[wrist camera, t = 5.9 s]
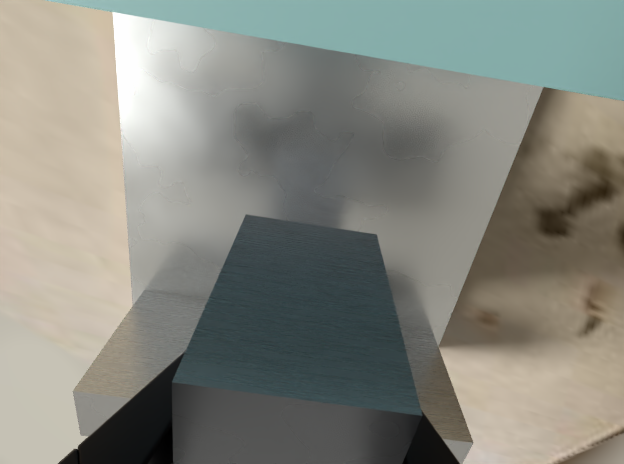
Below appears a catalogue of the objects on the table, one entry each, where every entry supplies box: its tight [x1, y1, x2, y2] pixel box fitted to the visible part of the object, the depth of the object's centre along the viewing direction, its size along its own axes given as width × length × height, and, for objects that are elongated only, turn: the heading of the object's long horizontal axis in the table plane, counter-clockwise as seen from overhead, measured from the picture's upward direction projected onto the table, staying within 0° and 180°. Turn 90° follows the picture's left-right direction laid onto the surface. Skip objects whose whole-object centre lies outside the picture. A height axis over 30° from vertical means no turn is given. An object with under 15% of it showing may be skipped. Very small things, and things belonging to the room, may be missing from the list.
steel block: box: [172, 214, 423, 464], centre depth 9 cm, size 4×5×6 cm
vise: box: [73, 12, 543, 464], centre depth 11 cm, size 13×17×6 cm
